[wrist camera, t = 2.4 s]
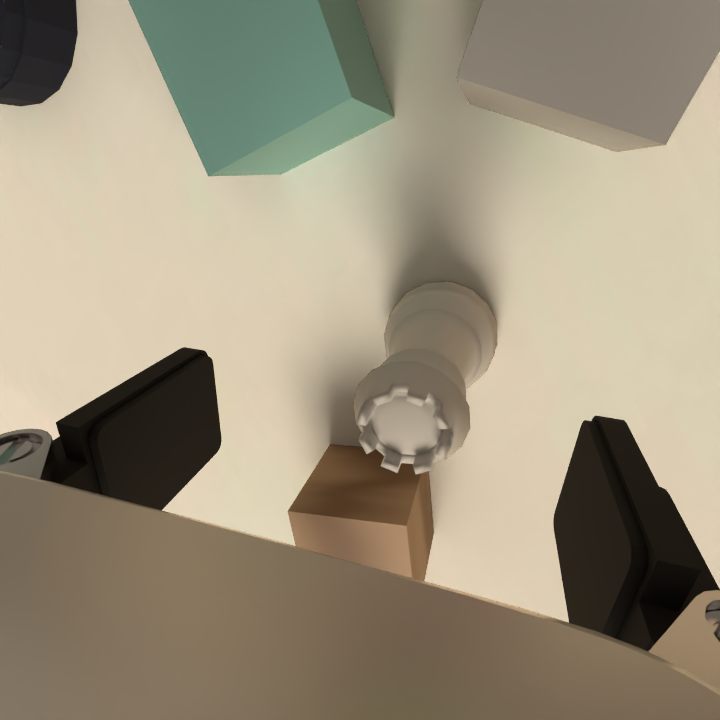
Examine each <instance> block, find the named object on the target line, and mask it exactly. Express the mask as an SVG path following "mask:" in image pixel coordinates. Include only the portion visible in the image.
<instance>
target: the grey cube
mask: <svg viewBox="0 0 720 720" xmlns="http://www.w3.org/2000/svg"><path fill="white" fill-rule="evenodd" d="M719 51H720V0H483V1H482V4H481V7H480V10H479V13H478V16H477V19H476V22H475V25H474V27H473V30H472V33H471V36H470V39H469V42H468V45H467V48H466V51H465V54H464V56H463V59H462V62H461V65H460V68H459V71H458V74H457V77H456V78H457V79H458V81H459V83H460V85H461V87H462V89H463V91H464V93H465V95H466V96H467V98H468V100H469V102H470V104H472V105H475V106H478V107H481V108H484V109H487V110H490V111H493V112H496V113H500V114H503V115H506V116H509V117H512V118H515V119H518V120H521V121H524V122H527V123H530V124H533V125H536V126H539V127H542V128H545V129H548V130H551V131H554V132H557V133H560V134H563V135H566V136H569V137H572V138H575V139H578V140H581V141H584V142H587V143H591V144H594V145H597V146H600V147H603V148H606V149H609V150H612V151H615V152H620V151H626V150H633V149H640V148H646V147H653V146H660V145H666V143H667V141H668V139H669V138H670V136H671V134H672V132H673V131H674V129H675V127H676V126H677V124H678V122H679V120H680V119H681V117H682V115H683V113H684V112H685V110H686V108H687V107H688V105H689V103H690V101H691V100H692V98H693V96H694V94H695V93H696V91H697V89H698V87H699V86H700V84H701V82H702V81H703V79H704V77H705V75H706V74H707V72H708V70H709V68H710V67H711V65H712V63H713V62H714V60H715V58H716V56H717V55H718V53H719Z"/></svg>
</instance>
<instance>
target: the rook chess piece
mask: <svg viewBox="0 0 720 720" xmlns="http://www.w3.org/2000/svg"><path fill="white" fill-rule="evenodd" d="M384 338H385V347H386V356H387V358H388V359H387V360H386V361H385V362H384V363H383V364H382V365H381V366H380V367H378V368H376V369H373V370H372V371H371V372H370V373H369V374H368V375H367V376H366V377H365V378H364V379H363V381H362V382H361V383H360V384H359V385H358V389H357V392H356V395H355V399H354V402H353V405H354V412H355V419H356V424H357V425H358V427H359V429H360V430H361V432H362V433H361V435H360V437H359V439H358V441H359V442H360V444H361V446H362V447H363V449H364V451H365V452H366V454H368V453H370V452H372V451H373V450H375V448H376V449H377V450H378V451H379V452H380V453H381V454H383V455H384V456H385V457H384V459H383V461H382V464H381V466H382V467H384V468H386V469H389V470H391V471H393V472H396V473H398V471H399V468H400V465H401V463H407V464H413V468H414V471H415V474H420V473H424V472H427V471H431V470H433V466H434V462H437V461H441V460H444V459H447V458H448V457H449V456H450V455H451V454H453V453H454V452H455V451H456V450H458V449H459V448H460V447H461V446H462V444H463V442H464V440H465V438H466V436H467V434H468V432H469V429H470V412H469V405H468V403H467V401H466V388H468V387H470V386H471V385H472V384H473V383H474V382H475V381H476V380H478V379H479V378H480V377H481V376H482V375H483V374H484V373H485V372H486V371H487V369H488V367H489V365H490V363H491V360H492V358H493V356H494V354H495V349H496V347H497V322H496V320H495V318H494V316H493V314H492V312H491V309H490V307H489V305H488V304H487V303H486V302H485V301H484V300H483V299H482V298H481V297H479V296H478V295H477V294H476V293H475V292H474V291H473V290H471V289H470V288H467V287H464V286H461V285H458V284H455V283H452V282H433V283H425V284H423V285H421V286H419V287H417V288H415V289H413V290H411V291H409V292H407V293H406V294H405V295H404V296H403V298H402V299H401V300H400V301H399V302H398V303H397V304H396V306H395V307H394V308H393V311H392V313H391V314H390V317H389V320H388V323H387V327H386V330H385V333H384Z"/></svg>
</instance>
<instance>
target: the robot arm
mask: <svg viewBox="0 0 720 720" xmlns="http://www.w3.org/2000/svg"><path fill="white" fill-rule="evenodd" d="M56 425H57V428H58V431H59V435H60V437H58V438H57V439H55V440H52V437H51V435H50V434H49V433H48V432H46V431H43V430H40V429H23V430H16V431H12V432H7V433H4V434H1V435H0V720H720V589H719V587H718V585H717V584H716V582H715V580H714V578H713V576H712V574H711V572H710V570H709V568H708V567H707V565H706V563H705V561H704V559H703V557H702V555H701V553H700V551H699V550H698V548H697V546H696V544H695V542H694V540H693V538H692V536H691V534H690V533H689V531H688V529H687V527H686V525H685V523H684V521H683V519H682V517H681V516H680V514H679V512H678V510H677V508H676V506H675V504H674V502H673V500H672V499H671V497H670V495H669V493H668V492H667V491H666V489H664V488H662V487H659V486H658V484H657V482H656V480H655V478H654V476H653V474H652V472H651V470H650V468H649V466H648V464H647V462H646V461H645V459H644V457H643V455H642V453H641V451H640V449H639V447H638V445H637V443H636V441H635V439H634V437H633V435H632V433H631V431H630V429H629V427H628V425H627V423H626V422H625V421H624V420H619V419H613V418H607V417H601V416H595V417H594V418H593V419H592V421H586V420H585V421H583V423H582V425H581V428H580V431H579V435H578V438H577V441H576V444H575V448H574V451H573V454H572V458H571V461H570V464H569V467H568V471H567V474H566V477H565V480H564V484H563V487H562V490H561V494H560V497H559V500H558V503H557V507H556V510H555V514H554V532H555V538H556V544H557V550H558V557H559V563H560V569H561V575H562V581H563V587H564V593H565V599H566V605H567V611H568V618H569V623H568V622H565V621H561V620H558V619H555V618H552V617H549V616H545V615H542V614H539V613H536V612H532V611H529V610H526V609H523V608H520V607H516V606H512V605H508V604H505V603H501V602H497V601H494V600H490V599H487V598H483V597H479V596H476V595H472V594H469V593H465V592H461V591H458V590H454V589H450V588H447V587H443V586H440V585H436V584H432V583H429V582H425V581H421V580H418V579H414V578H410V577H407V576H403V575H399V574H396V573H392V572H389V571H385V570H381V569H378V568H374V567H370V566H367V565H363V564H359V563H356V562H352V561H348V560H345V559H341V558H337V557H334V556H330V555H326V554H323V553H319V552H315V551H312V550H308V549H304V548H300V547H297V546H293V545H289V544H286V543H282V542H278V541H274V540H271V539H267V538H263V537H259V536H256V535H252V534H248V533H244V532H241V531H237V530H233V529H229V528H226V527H222V526H218V525H214V524H211V523H207V522H203V521H199V520H196V519H192V518H188V517H184V516H180V515H177V514H173V513H169V512H165V511H161V510H162V509H163V508H164V507H165V506H166V505H167V504H168V503H169V502H170V501H171V500H172V499H173V498H174V497H175V496H176V495H177V494H178V493H179V492H180V491H181V489H182V488H183V487H184V486H185V485H186V484H187V483H188V482H189V481H190V480H191V479H192V478H193V477H194V476H195V475H196V474H197V473H198V472H199V471H200V470H201V469H202V468H203V467H204V465H205V464H206V463H207V462H208V461H209V460H210V459H211V458H212V457H213V456H214V455H215V454H216V453H217V452H218V450H219V448H220V445H221V431H220V422H219V413H218V404H217V395H216V386H215V377H214V368H213V361H212V359H211V358H210V357H208V355H207V353H206V352H205V351H203V350H197V349H191V348H185V347H184V348H181V349H179V350H177V351H176V352H174V353H172V354H171V355H169V356H167V357H166V358H164V359H162V360H160V361H159V362H157V363H155V364H154V365H152V366H150V367H149V368H147V369H145V370H144V371H142V372H140V373H138V374H137V375H135V376H133V377H132V378H130V379H128V380H127V381H125V382H123V383H122V384H120V385H118V386H116V387H115V388H113V389H111V390H110V391H108V392H106V393H105V394H103V395H101V396H100V397H98V398H96V399H94V400H93V401H91V402H89V403H88V404H86V405H84V406H83V407H81V408H79V409H78V410H76V411H74V412H72V413H71V414H69V415H67V416H66V417H64V418H62V419H61V420H59V421H57V422H56Z"/></svg>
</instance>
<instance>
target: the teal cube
mask: <svg viewBox="0 0 720 720" xmlns="http://www.w3.org/2000/svg"><path fill="white" fill-rule="evenodd" d="M128 1H129V3H130V5H131V7H132V9H133V12H134V14H135V16H136V18H137V20H138V23H139V25H140V27H141V29H142V31H143V34H144V36H145V38H146V40H147V42H148V45H149V47H150V49H151V51H152V53H153V56H154V58H155V60H156V62H157V64H158V67H159V69H160V71H161V73H162V75H163V78H164V80H165V82H166V84H167V86H168V89H169V91H170V93H171V95H172V97H173V100H174V102H175V104H176V106H177V108H178V111H179V113H180V115H181V117H182V119H183V122H184V124H185V126H186V128H187V130H188V132H189V135H190V137H191V139H192V141H193V143H194V146H195V148H196V150H197V152H198V154H199V157H200V159H201V161H202V163H203V165H204V168H205V170H206V172H207V174H208V176H237V175H274V174H283V173H285V172H287V171H289V170H291V169H293V168H295V167H297V166H299V165H301V164H303V163H305V162H307V161H309V160H310V159H312V158H314V157H316V156H318V155H320V154H322V153H324V152H326V151H328V150H330V149H332V148H334V147H336V146H338V145H340V144H342V143H344V142H346V141H348V140H350V139H352V138H354V137H356V136H358V135H360V134H362V133H364V132H366V131H368V130H370V129H372V128H374V127H376V126H378V125H380V124H382V123H384V122H386V121H388V120H390V119H392V118H394V115H393V112H392V109H391V106H390V102H389V99H388V96H387V93H386V90H385V87H384V84H383V81H382V78H381V75H380V72H379V69H378V66H377V63H376V60H375V57H374V54H373V51H372V48H371V45H370V41H369V38H368V35H367V32H366V29H365V26H364V23H363V20H362V17H361V14H360V11H359V8H358V5H357V2H356V0H128Z"/></svg>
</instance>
